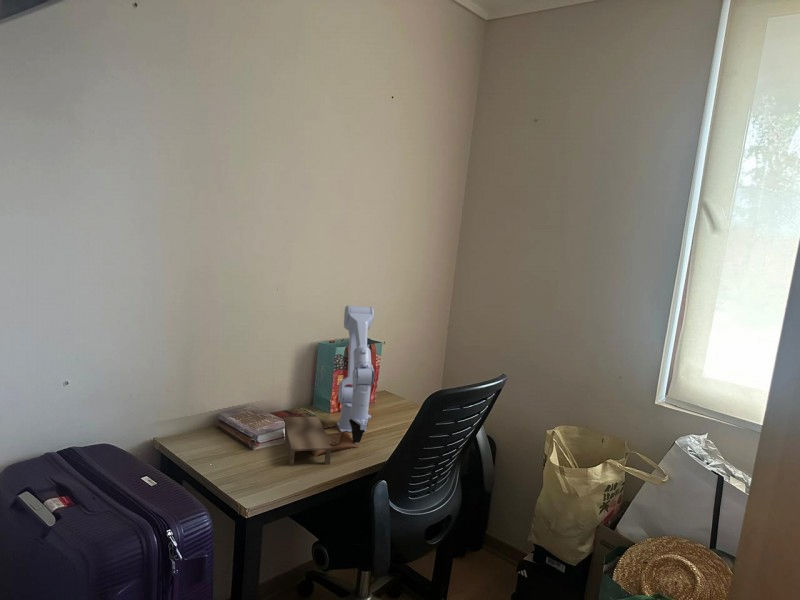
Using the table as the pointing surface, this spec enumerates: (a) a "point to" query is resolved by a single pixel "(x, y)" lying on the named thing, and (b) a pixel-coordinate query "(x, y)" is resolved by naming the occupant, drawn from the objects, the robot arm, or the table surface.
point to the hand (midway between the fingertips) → (356, 441)
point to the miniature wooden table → (305, 436)
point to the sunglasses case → (336, 443)
